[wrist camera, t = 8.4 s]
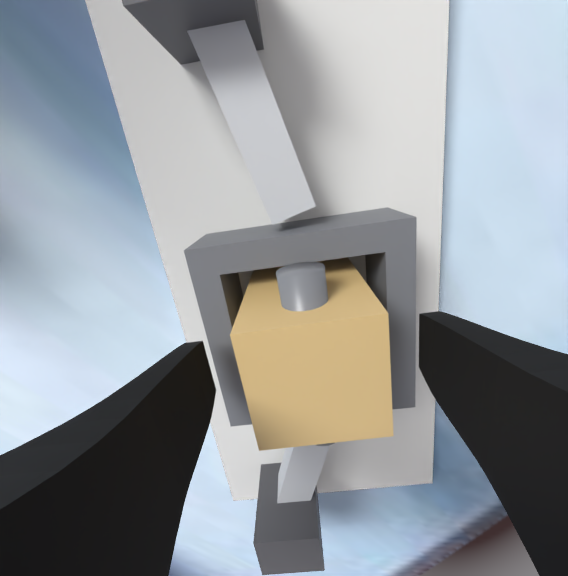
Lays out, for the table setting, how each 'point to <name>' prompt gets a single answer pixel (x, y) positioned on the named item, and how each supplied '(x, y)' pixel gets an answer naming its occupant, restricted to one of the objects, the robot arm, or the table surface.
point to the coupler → (314, 356)
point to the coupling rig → (290, 203)
